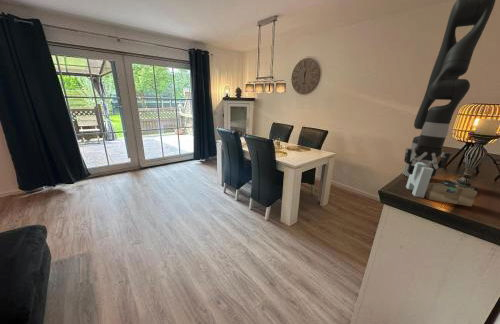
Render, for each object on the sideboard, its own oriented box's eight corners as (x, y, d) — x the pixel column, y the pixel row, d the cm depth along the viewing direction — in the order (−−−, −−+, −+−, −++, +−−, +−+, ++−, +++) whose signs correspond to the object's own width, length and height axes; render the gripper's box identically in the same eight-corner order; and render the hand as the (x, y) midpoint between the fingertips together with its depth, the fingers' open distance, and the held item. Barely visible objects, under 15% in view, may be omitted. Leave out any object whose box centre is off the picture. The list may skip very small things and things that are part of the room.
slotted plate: (405, 187, 90) (413, 161, 86) (413, 188, 89) (422, 162, 85) (414, 196, 81) (423, 168, 77) (423, 197, 80) (433, 169, 76)
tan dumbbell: (425, 195, 82) (430, 182, 80) (466, 202, 78) (472, 188, 76) (428, 199, 79) (433, 185, 77) (471, 206, 75) (477, 191, 73)
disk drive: (443, 184, 97) (432, 190, 89) (445, 179, 97) (434, 184, 89) (473, 193, 89) (464, 200, 81) (476, 187, 88) (466, 193, 80)
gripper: (451, 135, 79) (436, 175, 84) (407, 131, 83) (396, 169, 88) (462, 138, 72) (446, 181, 77) (414, 133, 77) (402, 175, 81)
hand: (419, 175), depth 83 cm, fingers open, 6 cm apart
